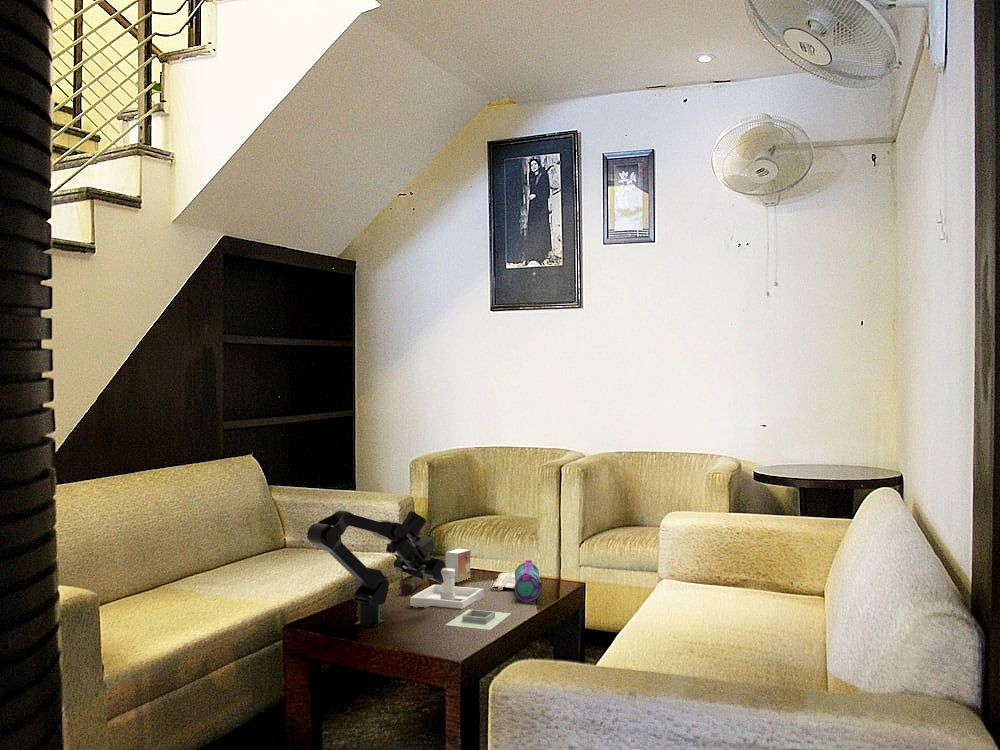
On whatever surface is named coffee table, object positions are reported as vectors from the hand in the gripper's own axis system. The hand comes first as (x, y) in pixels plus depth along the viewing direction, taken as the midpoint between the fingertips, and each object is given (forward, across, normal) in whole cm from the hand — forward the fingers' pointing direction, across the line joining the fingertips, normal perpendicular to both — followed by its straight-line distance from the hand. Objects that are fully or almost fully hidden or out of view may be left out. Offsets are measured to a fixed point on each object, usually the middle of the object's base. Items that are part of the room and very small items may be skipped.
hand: (432, 579), depth 270 cm
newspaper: (+34, +2, -21) cm, 40 cm away
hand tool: (+15, +23, -3) cm, 27 cm away
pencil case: (+28, -13, -16) cm, 35 cm away
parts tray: (+11, 0, +1) cm, 11 cm away
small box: (+28, +20, -16) cm, 38 cm away
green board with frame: (+4, -24, +8) cm, 25 cm away
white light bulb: (+10, 0, +1) cm, 10 cm away
